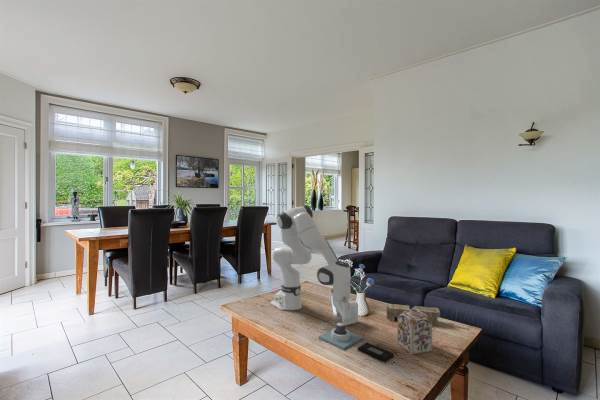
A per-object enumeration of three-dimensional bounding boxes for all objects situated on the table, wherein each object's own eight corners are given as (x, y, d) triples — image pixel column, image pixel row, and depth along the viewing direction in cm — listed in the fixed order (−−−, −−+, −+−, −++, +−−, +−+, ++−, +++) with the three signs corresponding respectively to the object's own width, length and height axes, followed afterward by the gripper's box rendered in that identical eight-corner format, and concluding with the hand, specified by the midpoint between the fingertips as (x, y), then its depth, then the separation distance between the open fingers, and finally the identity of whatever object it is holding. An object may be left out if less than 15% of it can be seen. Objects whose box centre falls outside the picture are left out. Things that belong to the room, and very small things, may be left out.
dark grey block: (333, 336, 153) (333, 324, 153) (340, 333, 156) (340, 321, 156) (340, 339, 149) (340, 327, 149) (347, 336, 152) (347, 324, 152)
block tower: (386, 322, 176) (440, 326, 168) (386, 307, 176) (440, 311, 168) (386, 316, 183) (438, 320, 175) (386, 303, 183) (437, 306, 175)
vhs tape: (366, 346, 146) (366, 342, 146) (393, 357, 136) (393, 353, 136) (357, 351, 141) (357, 347, 141) (385, 364, 130) (385, 359, 130)
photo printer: (353, 319, 176) (354, 298, 176) (359, 322, 172) (359, 301, 172) (340, 323, 170) (340, 302, 170) (345, 326, 167) (346, 304, 167)
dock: (318, 338, 152) (318, 331, 152) (338, 328, 164) (338, 322, 164) (343, 349, 141) (343, 342, 141) (362, 338, 152) (362, 332, 152)
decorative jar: (411, 355, 137) (411, 316, 137) (396, 343, 148) (396, 307, 148) (433, 351, 140) (433, 313, 140) (416, 340, 151) (417, 304, 151)
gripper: (354, 300, 143) (354, 329, 143) (341, 287, 163) (341, 312, 163) (342, 301, 142) (341, 330, 142) (330, 287, 162) (330, 313, 162)
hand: (341, 320), depth 153 cm, fingers open, 8 cm apart
